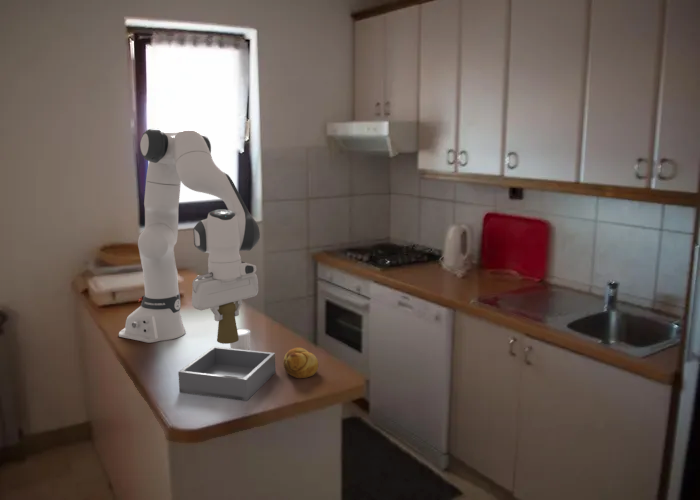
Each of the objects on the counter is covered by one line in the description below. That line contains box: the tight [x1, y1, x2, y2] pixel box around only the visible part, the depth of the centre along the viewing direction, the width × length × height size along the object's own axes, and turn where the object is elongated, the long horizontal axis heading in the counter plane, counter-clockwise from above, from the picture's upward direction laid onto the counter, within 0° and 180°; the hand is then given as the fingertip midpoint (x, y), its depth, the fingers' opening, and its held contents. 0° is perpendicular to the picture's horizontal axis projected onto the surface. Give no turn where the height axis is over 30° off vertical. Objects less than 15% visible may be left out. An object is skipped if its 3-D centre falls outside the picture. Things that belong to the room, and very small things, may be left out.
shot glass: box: [229, 328, 251, 350], centre depth 199 cm, size 7×7×7 cm
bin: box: [178, 346, 276, 402], centre depth 177 cm, size 20×20×6 cm
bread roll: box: [283, 347, 320, 379], centre depth 184 cm, size 13×10×8 cm
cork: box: [216, 302, 239, 345], centre depth 174 cm, size 6×6×11 cm
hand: (226, 318), depth 174 cm, fingers closed on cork, 4 cm apart
